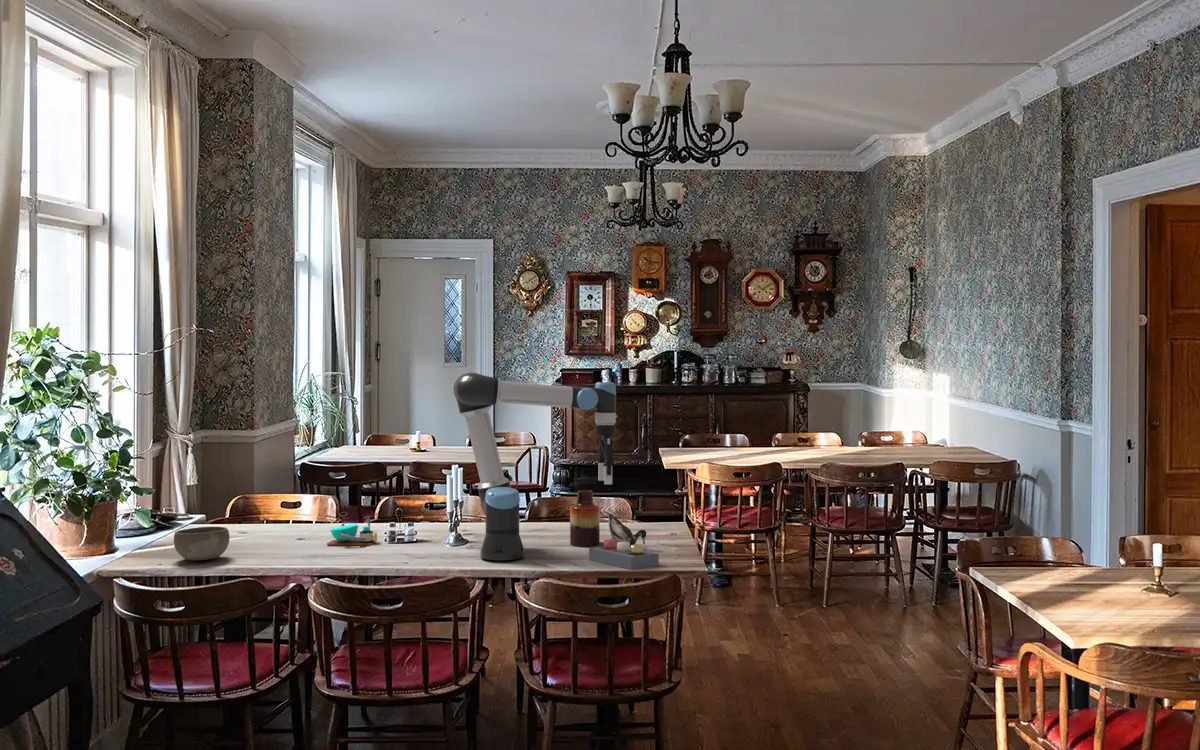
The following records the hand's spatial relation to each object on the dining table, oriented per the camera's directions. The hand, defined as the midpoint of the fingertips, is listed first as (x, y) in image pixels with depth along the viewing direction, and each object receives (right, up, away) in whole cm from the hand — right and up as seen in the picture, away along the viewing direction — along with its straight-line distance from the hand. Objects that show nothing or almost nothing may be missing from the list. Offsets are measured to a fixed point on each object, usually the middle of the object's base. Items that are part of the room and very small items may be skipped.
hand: (605, 482), depth 374 cm
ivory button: (+6, -20, -31) cm, 38 cm away
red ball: (+2, -20, -26) cm, 33 cm away
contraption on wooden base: (-94, -24, +3) cm, 97 cm away
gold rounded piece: (+10, -20, -37) cm, 43 cm away
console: (+6, -24, -31) cm, 40 cm away
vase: (-7, -24, +1) cm, 25 cm away
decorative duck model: (+10, -23, -8) cm, 26 cm away
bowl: (-138, -24, -24) cm, 142 cm away
